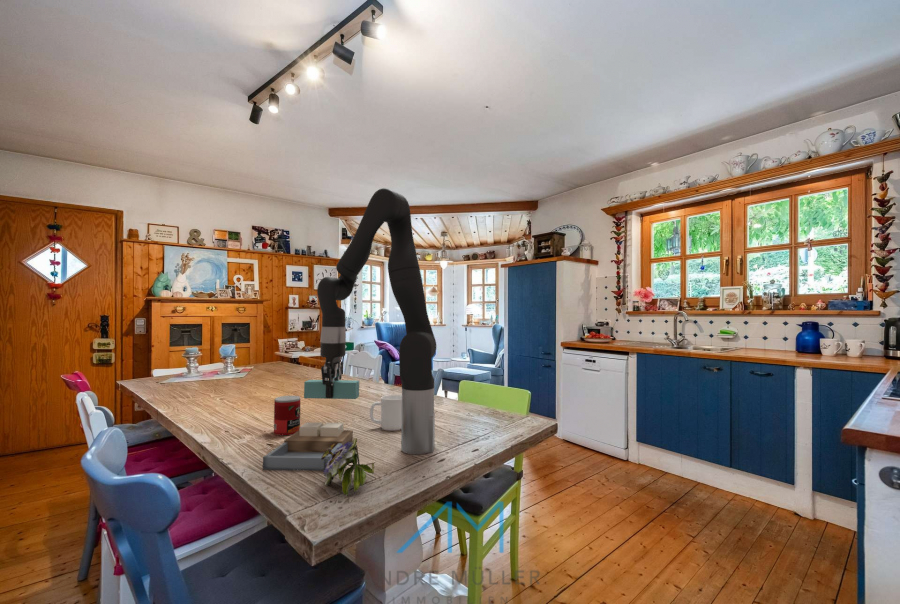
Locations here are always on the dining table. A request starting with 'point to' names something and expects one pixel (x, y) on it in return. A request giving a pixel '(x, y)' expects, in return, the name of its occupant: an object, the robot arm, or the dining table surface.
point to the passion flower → (339, 463)
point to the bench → (316, 442)
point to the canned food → (286, 415)
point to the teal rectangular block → (341, 391)
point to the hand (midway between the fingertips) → (332, 396)
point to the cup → (389, 412)
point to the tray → (296, 459)
